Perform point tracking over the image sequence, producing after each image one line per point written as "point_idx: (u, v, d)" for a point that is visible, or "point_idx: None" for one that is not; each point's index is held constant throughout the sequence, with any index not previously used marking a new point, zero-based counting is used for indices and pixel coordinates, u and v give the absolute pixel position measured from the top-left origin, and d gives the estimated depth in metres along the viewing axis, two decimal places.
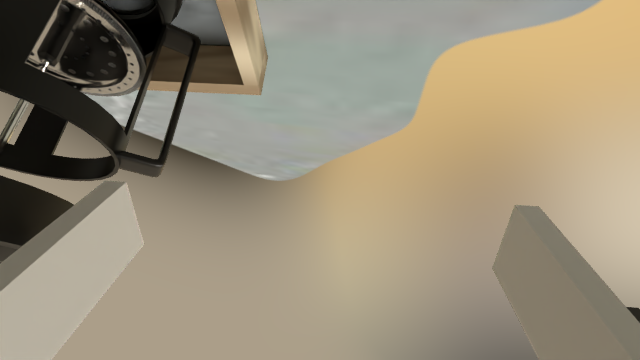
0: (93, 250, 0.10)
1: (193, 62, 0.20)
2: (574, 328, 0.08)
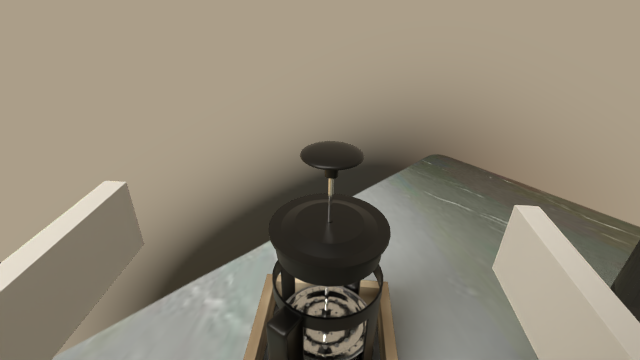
0: (93, 250, 0.10)
1: None
2: (574, 328, 0.08)
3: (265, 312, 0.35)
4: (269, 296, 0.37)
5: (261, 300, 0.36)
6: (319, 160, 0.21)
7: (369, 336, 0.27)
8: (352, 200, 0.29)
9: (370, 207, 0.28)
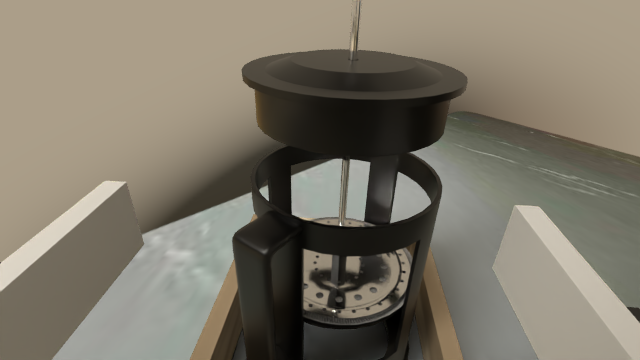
0: (93, 250, 0.10)
1: None
2: (574, 328, 0.08)
3: None
4: None
5: None
6: None
7: (416, 278, 0.16)
8: None
9: (419, 60, 0.16)
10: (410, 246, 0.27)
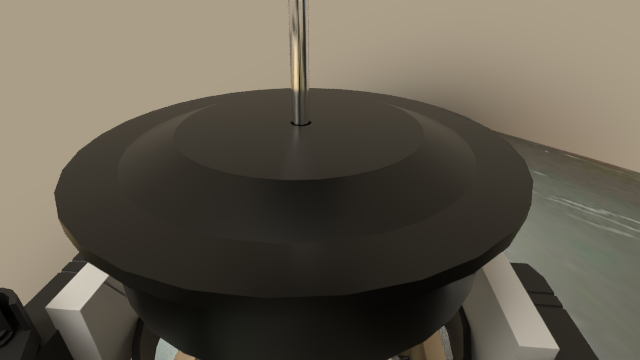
0: None
1: None
2: None
3: None
4: None
5: None
6: None
7: None
8: (371, 97, 0.11)
9: (425, 107, 0.10)
10: None
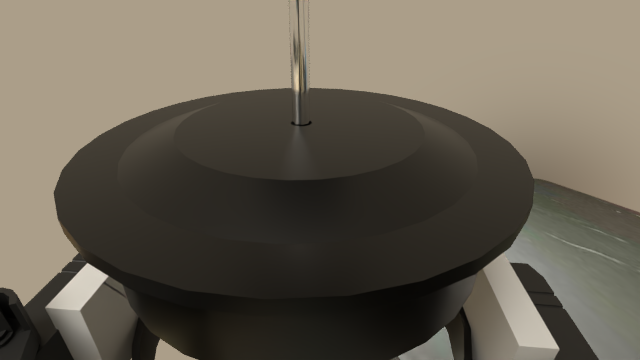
0: None
1: None
2: None
3: None
4: None
5: None
6: None
7: None
8: (372, 97, 0.11)
9: (425, 107, 0.10)
10: None
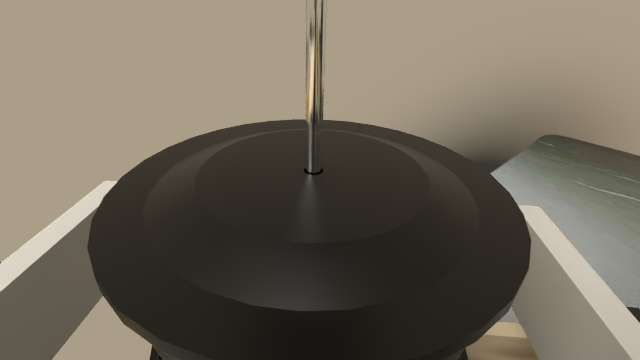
0: None
1: None
2: (574, 328, 0.08)
3: None
4: None
5: None
6: None
7: None
8: (378, 132, 0.11)
9: (429, 145, 0.10)
10: None
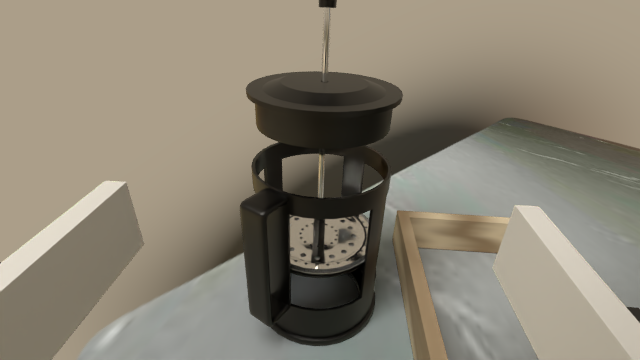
0: (93, 250, 0.10)
1: (268, 306, 0.21)
2: (574, 328, 0.08)
3: (416, 246, 0.28)
4: (411, 231, 0.30)
5: (404, 235, 0.30)
6: None
7: (373, 239, 0.22)
8: (353, 75, 0.23)
9: (376, 80, 0.22)
10: None
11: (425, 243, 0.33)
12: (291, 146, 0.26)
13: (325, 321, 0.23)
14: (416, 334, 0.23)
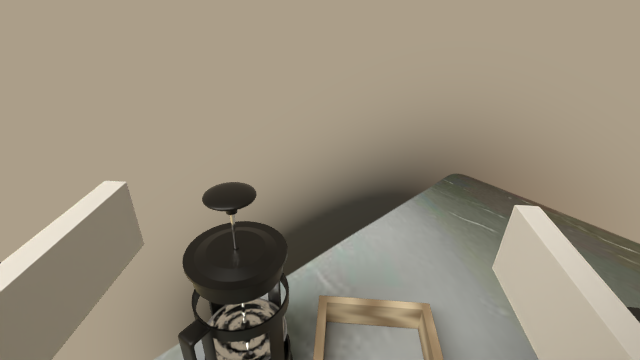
0: (93, 250, 0.10)
1: None
2: (574, 328, 0.08)
3: (323, 332, 0.39)
4: (324, 317, 0.41)
5: (318, 320, 0.40)
6: (214, 201, 0.26)
7: (274, 345, 0.32)
8: (264, 228, 0.33)
9: (277, 235, 0.33)
10: (420, 317, 0.42)
11: (341, 319, 0.44)
12: None
13: None
14: None
